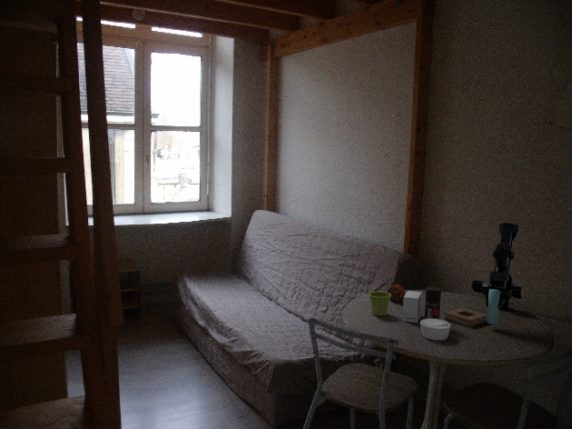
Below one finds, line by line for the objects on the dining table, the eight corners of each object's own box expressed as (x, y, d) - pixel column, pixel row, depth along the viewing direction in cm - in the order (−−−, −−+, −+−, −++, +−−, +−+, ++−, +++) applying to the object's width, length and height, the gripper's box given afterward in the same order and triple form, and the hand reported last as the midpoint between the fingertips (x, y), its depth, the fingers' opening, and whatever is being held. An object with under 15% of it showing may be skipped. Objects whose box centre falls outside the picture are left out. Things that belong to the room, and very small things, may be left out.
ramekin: (445, 344, 191) (446, 330, 190) (415, 337, 197) (416, 324, 196) (453, 335, 201) (454, 322, 200) (424, 329, 206) (425, 316, 206)
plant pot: (365, 315, 222) (366, 295, 221) (370, 309, 231) (371, 290, 230) (387, 318, 219) (388, 298, 218) (392, 312, 228) (393, 292, 227)
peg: (490, 320, 211) (492, 288, 209) (499, 322, 207) (502, 290, 206) (485, 321, 208) (487, 290, 207) (494, 324, 205) (496, 292, 203)
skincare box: (406, 313, 226) (407, 290, 225) (421, 315, 223) (422, 292, 222) (401, 321, 216) (403, 296, 215) (417, 323, 214) (419, 298, 212)
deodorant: (439, 323, 214) (441, 287, 212) (438, 328, 208) (440, 291, 206) (424, 321, 216) (426, 286, 214) (423, 326, 210) (425, 289, 208)
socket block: (461, 314, 226) (461, 307, 226) (486, 322, 217) (487, 315, 216) (444, 319, 219) (444, 312, 218) (469, 327, 209) (470, 320, 209)
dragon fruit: (397, 307, 240) (390, 303, 251) (412, 296, 240) (404, 293, 252) (387, 292, 239) (380, 289, 251) (401, 281, 240) (394, 279, 252)
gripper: (474, 260, 213) (465, 292, 205) (523, 266, 203) (516, 300, 195) (477, 275, 221) (469, 306, 213) (525, 281, 211) (518, 315, 203)
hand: (492, 307), depth 206 cm, fingers closed on peg, 4 cm apart
